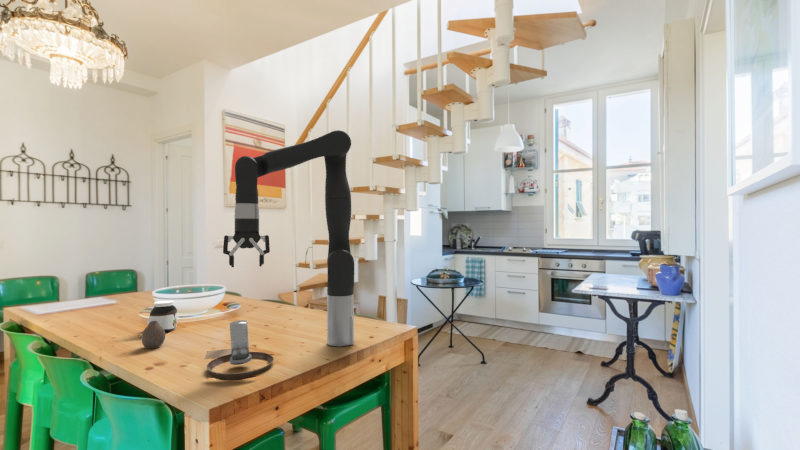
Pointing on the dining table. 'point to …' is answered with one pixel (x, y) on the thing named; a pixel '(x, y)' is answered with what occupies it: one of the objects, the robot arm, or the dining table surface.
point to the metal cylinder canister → (239, 343)
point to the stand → (217, 353)
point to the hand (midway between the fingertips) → (246, 266)
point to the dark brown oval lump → (153, 335)
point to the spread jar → (164, 315)
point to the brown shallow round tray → (238, 375)
